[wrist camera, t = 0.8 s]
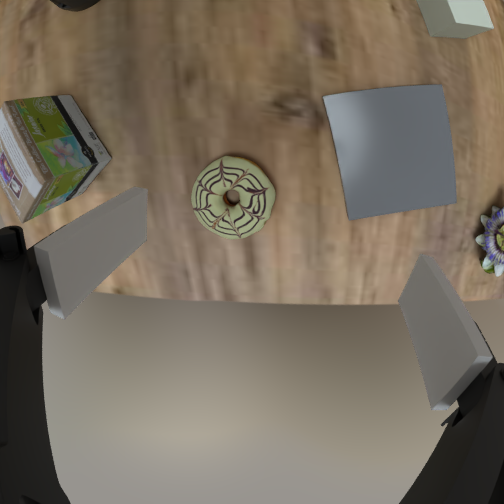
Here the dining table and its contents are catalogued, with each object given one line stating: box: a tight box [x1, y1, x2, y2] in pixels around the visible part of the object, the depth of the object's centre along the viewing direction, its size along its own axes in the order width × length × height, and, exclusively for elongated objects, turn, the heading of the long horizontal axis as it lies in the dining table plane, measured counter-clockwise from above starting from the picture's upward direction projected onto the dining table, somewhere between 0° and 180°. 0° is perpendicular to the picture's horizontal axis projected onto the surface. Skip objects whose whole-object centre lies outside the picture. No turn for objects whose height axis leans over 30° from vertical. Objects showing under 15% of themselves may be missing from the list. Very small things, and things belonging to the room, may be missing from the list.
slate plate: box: [323, 85, 456, 220], centre depth 31 cm, size 16×16×1 cm
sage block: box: [416, 0, 494, 39], centre depth 18 cm, size 6×6×8 cm
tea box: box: [0, 95, 112, 223], centre depth 32 cm, size 15×10×15 cm, turn 36°
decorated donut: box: [191, 156, 276, 239], centre depth 37 cm, size 10×11×4 cm
